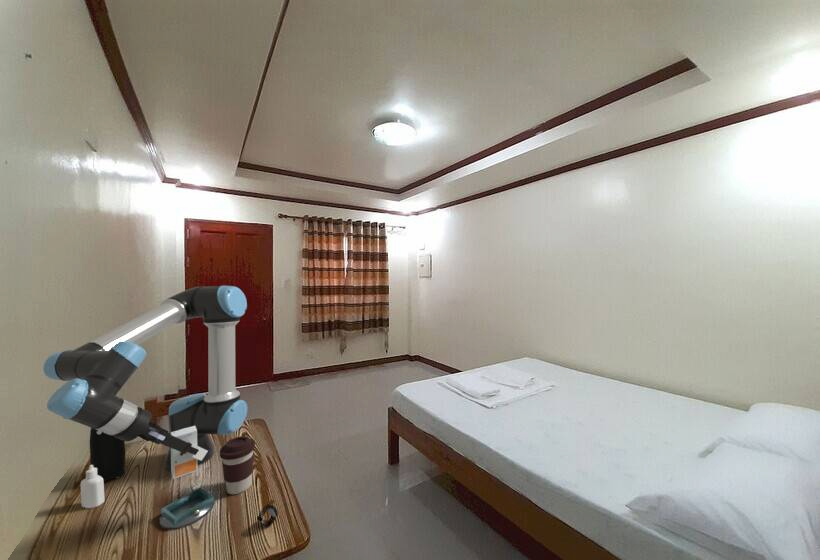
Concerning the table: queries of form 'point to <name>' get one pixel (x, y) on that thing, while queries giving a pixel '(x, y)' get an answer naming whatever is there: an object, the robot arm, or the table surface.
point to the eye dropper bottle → (92, 489)
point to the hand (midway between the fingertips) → (198, 452)
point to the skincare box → (185, 462)
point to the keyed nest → (187, 510)
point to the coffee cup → (238, 464)
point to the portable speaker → (107, 454)
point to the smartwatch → (271, 511)
